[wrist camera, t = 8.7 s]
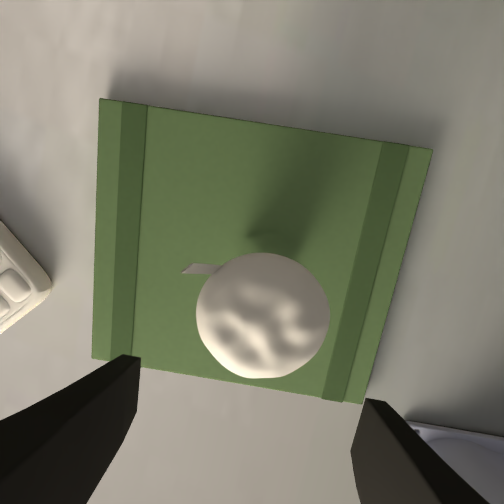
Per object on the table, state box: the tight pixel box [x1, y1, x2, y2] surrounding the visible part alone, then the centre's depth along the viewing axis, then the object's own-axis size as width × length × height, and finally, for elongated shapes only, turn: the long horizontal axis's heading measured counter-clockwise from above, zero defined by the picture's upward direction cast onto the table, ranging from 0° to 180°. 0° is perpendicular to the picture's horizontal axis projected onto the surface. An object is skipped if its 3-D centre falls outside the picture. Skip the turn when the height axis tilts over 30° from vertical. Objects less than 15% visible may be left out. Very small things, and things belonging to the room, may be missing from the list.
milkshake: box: [181, 230, 330, 378], centre depth 14 cm, size 4×5×10 cm
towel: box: [92, 98, 433, 404], centre depth 19 cm, size 18×16×1 cm
